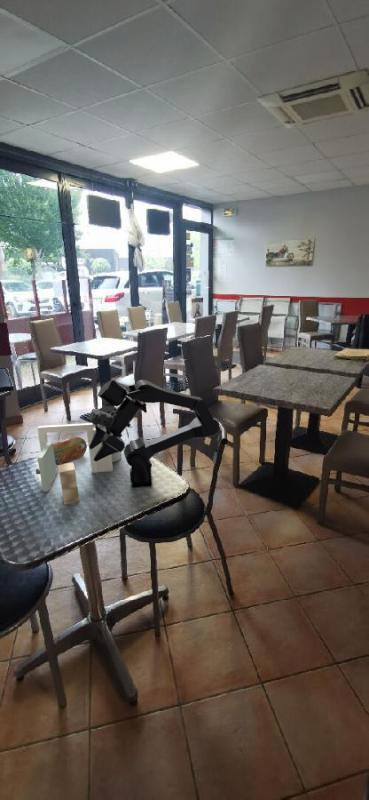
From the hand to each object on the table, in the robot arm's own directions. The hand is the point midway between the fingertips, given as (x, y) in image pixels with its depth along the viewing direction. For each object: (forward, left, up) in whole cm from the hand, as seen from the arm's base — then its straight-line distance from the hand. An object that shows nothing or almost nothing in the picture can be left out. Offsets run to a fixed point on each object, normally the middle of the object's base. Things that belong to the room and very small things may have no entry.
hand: (92, 454), depth 123 cm
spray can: (-2, -23, -14) cm, 27 cm away
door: (+17, -8, -13) cm, 23 cm away
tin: (+14, -24, -14) cm, 31 cm away
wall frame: (+8, -14, -14) cm, 21 cm away
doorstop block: (+8, +3, -14) cm, 16 cm away
